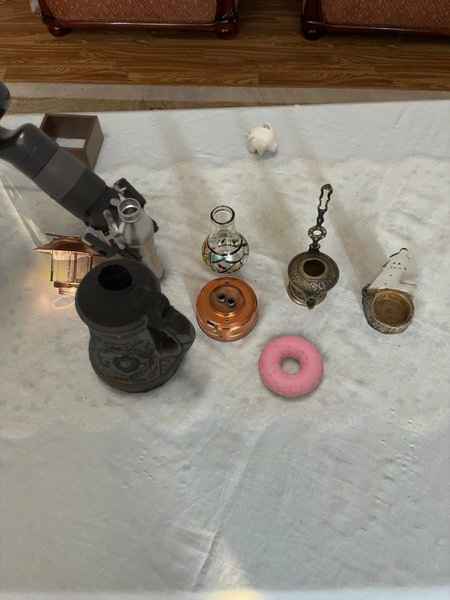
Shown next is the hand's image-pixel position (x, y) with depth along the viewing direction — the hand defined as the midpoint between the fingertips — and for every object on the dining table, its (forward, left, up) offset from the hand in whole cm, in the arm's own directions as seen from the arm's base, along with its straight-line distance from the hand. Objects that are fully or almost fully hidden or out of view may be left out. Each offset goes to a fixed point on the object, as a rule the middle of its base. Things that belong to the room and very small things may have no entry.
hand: (147, 245), depth 92 cm
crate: (-24, +30, -10) cm, 39 cm away
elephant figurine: (+17, +36, -11) cm, 41 cm away
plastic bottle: (-2, 0, -11) cm, 11 cm away
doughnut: (+26, -17, -11) cm, 33 cm away
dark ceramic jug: (+1, -15, -11) cm, 19 cm away
